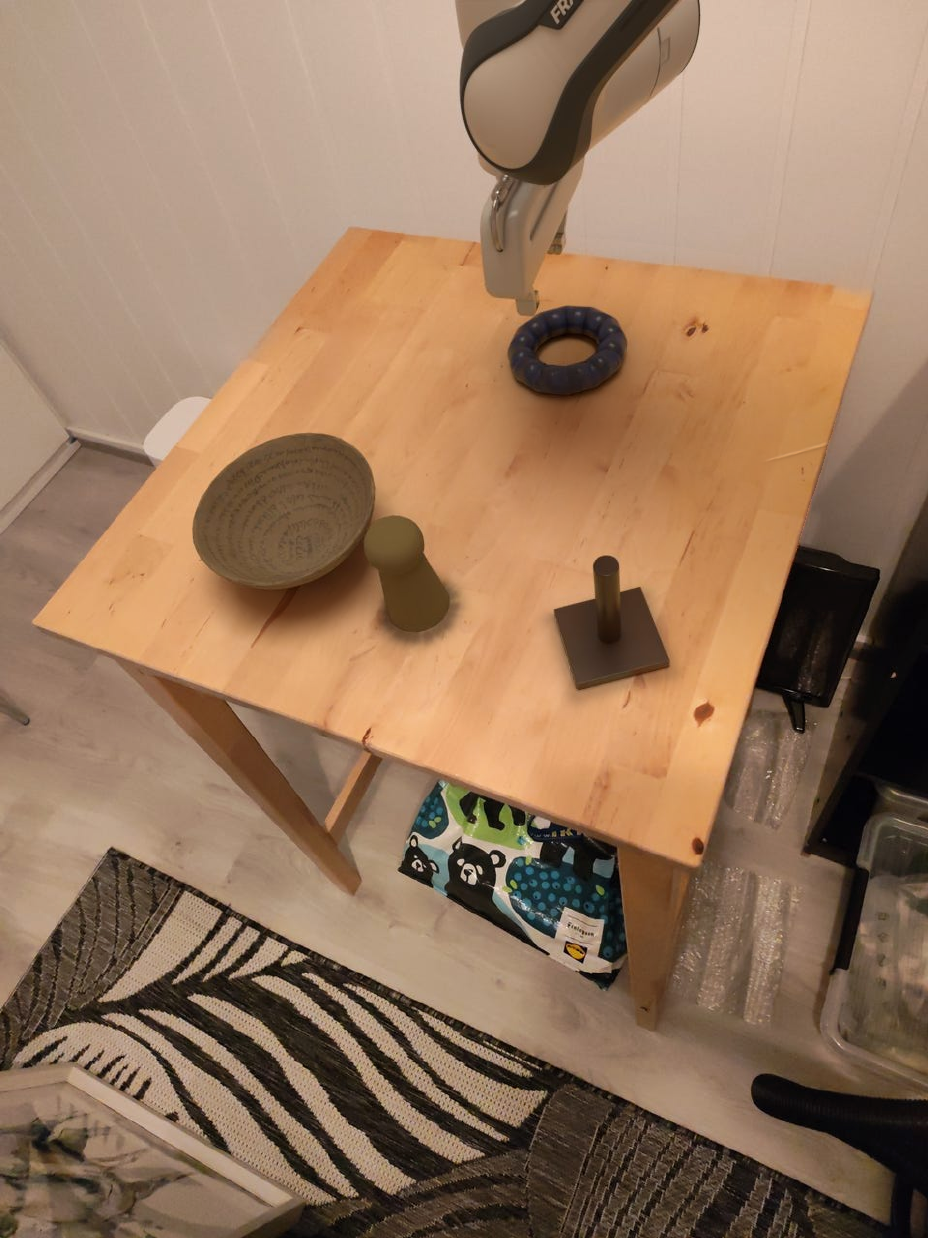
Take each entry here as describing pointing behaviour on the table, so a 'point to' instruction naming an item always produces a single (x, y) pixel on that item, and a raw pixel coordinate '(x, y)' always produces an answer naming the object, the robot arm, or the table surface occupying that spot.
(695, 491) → the table surface
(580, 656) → the post
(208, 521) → the bowl
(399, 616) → the olive game pawn
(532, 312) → the robot arm
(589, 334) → the ring
